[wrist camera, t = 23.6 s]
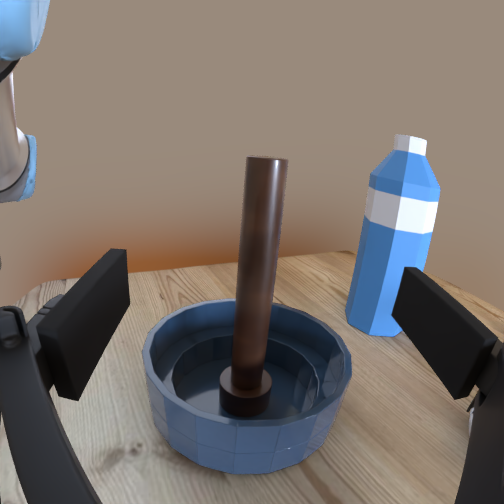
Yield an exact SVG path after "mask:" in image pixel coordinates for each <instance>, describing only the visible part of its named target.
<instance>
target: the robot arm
mask: <svg viewBox="0 0 504 504" xmlns="http://www.w3.org/2000/svg"><path fill="white" fill-rule="evenodd" d="M49 3H50V0H0V203H4V202H11V201H20V200H23V199H27V198H30V197H31V196H32V194H33V193H34V188H35V176H36V139H35V137H34V136H32V135H24V134H23V133H22V132H21V131H20V130H19V129H18V128H17V126H16V116H15V105H14V91H13V71H14V69H15V68H16V67H17V65H18V64H19V62H20V61H21V59H22V57H23V56H27V55H29V54H30V53H32V52H33V51H35V50H36V48H37V47H38V45H39V43H40V40H41V37H42V34H43V31H44V27H45V22H46V17H47V13H48V8H49ZM129 305H130V296H129V284H128V270H127V254H126V250H125V249H110V250H109V251H108V252H107V253H106V254H105V255H104V256H103V257H102V258H101V259H100V260H98V261H97V263H95V264H94V265H93V266H92V267H91V269H89V270H88V271H87V272H86V273H85V274H84V275H83V276H82V277H81V278H80V279H79V280H78V281H77V282H76V284H75V285H74V286H73V287H72V288H71V289H70V290H69V291H68V292H67V293H66V294H65V295H62V294H59V295H58V296H56V297H54V298H52V299H50V300H49V301H48V302H47V303H46V304H45V305H44V306H43V308H41V309H40V310H39V311H38V312H37V314H35V315H34V316H33V318H32V319H31V320H30V321H29V322H28V323H27V324H26V322H25V319H24V315H23V312H22V310H21V309H20V308H18V307H16V306H4V307H0V423H1V412H2V417H3V422H4V427H5V431H6V435H7V439H8V443H9V447H10V451H11V455H12V458H13V462H14V465H15V468H16V472H17V475H18V478H19V481H20V484H21V487H22V489H23V492H24V495H25V498H26V500H27V503H28V504H102V502H101V500H100V499H99V497H98V495H97V494H96V492H95V490H94V488H93V487H92V485H91V483H90V481H89V479H88V478H87V476H86V474H85V472H84V470H83V468H82V466H81V464H80V462H79V460H78V458H77V456H76V454H75V452H74V450H73V448H72V446H71V444H70V442H69V439H68V437H67V435H66V433H65V430H64V428H63V426H62V423H61V421H60V419H59V416H58V414H57V411H56V409H55V406H54V403H53V401H52V398H51V396H50V393H49V391H50V389H51V387H52V386H53V384H54V386H55V388H56V391H57V393H58V396H59V397H63V398H67V399H71V400H75V401H79V399H80V397H81V395H82V393H83V391H84V389H85V387H86V385H87V383H88V381H89V379H90V377H91V375H92V373H93V371H94V369H95V367H96V365H97V363H98V361H99V360H100V358H101V356H102V354H103V352H104V350H105V348H106V346H107V345H108V343H109V341H110V339H111V337H112V335H113V334H114V332H115V330H116V328H117V326H118V325H119V323H120V321H121V319H122V318H123V316H124V314H125V312H126V311H127V309H128V307H129ZM391 316H392V317H393V318H394V320H395V321H396V322H397V323H398V325H399V326H400V327H401V329H402V330H403V331H404V332H405V334H406V335H407V336H408V338H409V339H410V340H411V341H412V343H413V344H414V345H415V347H416V348H417V349H418V351H419V352H420V353H421V354H422V356H423V357H424V358H425V360H426V361H427V362H428V364H429V365H430V366H431V368H432V369H433V371H434V372H435V373H436V375H437V376H438V377H439V379H440V380H441V381H442V383H443V384H444V386H445V387H446V388H447V390H448V391H449V393H450V394H451V395H452V397H453V398H454V400H456V399H460V398H464V397H468V396H469V394H470V392H471V391H472V389H473V387H474V385H475V384H476V386H477V387H478V388H479V391H478V392H477V394H476V396H475V397H474V399H473V401H472V402H471V404H470V406H469V407H468V409H467V411H466V412H469V411H470V409H471V408H473V407H474V410H473V412H472V414H473V419H472V426H471V432H470V438H469V444H468V450H467V455H466V460H465V464H464V469H463V473H462V477H461V481H460V485H459V489H458V493H457V496H456V500H455V503H454V504H504V342H503V343H502V342H501V341H500V340H499V339H498V337H497V336H496V335H495V334H494V333H493V332H491V331H490V330H489V329H488V328H487V327H486V326H485V325H484V324H483V323H482V322H481V321H479V320H478V319H477V318H476V317H475V316H474V315H473V314H472V313H470V312H469V311H468V310H467V309H466V308H465V307H464V306H463V305H461V304H460V303H459V302H458V301H457V300H456V299H454V298H453V297H452V296H451V295H450V294H449V293H447V292H446V291H445V290H444V289H443V288H441V287H440V286H439V285H438V284H437V283H435V282H434V281H433V280H432V279H431V278H429V277H428V276H427V275H426V274H424V273H423V272H422V271H421V270H419V269H418V268H417V267H404V270H403V274H402V278H401V282H400V286H399V289H398V293H397V297H396V300H395V303H394V307H393V310H392V314H391ZM0 504H1V498H0Z"/></svg>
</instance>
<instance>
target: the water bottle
mask: <svg viewBox="0 0 504 504" xmlns="http://www.w3.org/2000/svg"><path fill="white" fill-rule="evenodd" d="M426 142H427V141H426V140H423V139H420V138H416V137H412V136H406V135H395V140H394V149H393V151H392V152H391V153H390V154H389V155H388V156H387V157H386V158H385V159H384V160H383V161H382V162H381V163H380V164H379V165H378V166H377V167H376V169H375V170H373V172H372V173H371V174H370V181H369V188H368V195H367V201H366V209H365V214H364V221H363V226H362V232H361V237H360V243H359V248H358V253H357V258H356V263H355V268H354V273H353V278H352V282H351V287H350V291H349V296H348V300H347V304H346V309H345V312H346V316H347V321H348V323H349V324H350V325H352V326H354V327H356V328H358V329H359V330H361V331H363V332H365V333H366V334H368V335H376V336H389V337H394V336H396V335H397V334H398V333H400V332H401V331H402V329H401V327H400V326H399V325H398V323H397V322H396V321H395V320H394V318H393V317H392V316H391V314H392V310H393V307H394V303H395V300H396V297H397V293H398V289H399V286H400V282H401V278H402V274H403V270H404V267H417V268H418V269H419V270H421V271H422V272H423V269H424V265H425V261H426V256H427V253H428V249H429V244H430V240H431V235H432V231H433V226H434V221H435V216H436V211H437V206H438V200H439V194H440V187H439V185H438V182H437V180H436V178H435V176H434V174H433V172H432V169H431V167H430V165H429V163H428V161H427V159H426V157H425V152H426Z"/></svg>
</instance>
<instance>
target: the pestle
mask: <svg viewBox="0 0 504 504" xmlns="http://www.w3.org/2000/svg"><path fill="white" fill-rule="evenodd" d="M287 167H288V159H284V158H277V157H268V156H254V155H248V156H247V157H246V171H245V181H244V194H243V207H242V219H241V234H240V245H239V260H238V273H237V287H236V301H235V316H234V330H233V346H232V361H231V366H229V367H228V368H226V369H225V370H224V371H223V372H222V373H221V375H220V380H219V402H220V405H221V406H222V408H223V409H224V410H225V411H227V412H228V413H230V414H232V415H235V416H239V417H253V416H256V415H259V414H261V413H262V412H263V411H265V410H266V408H267V407H268V405H269V399H270V394H271V388H272V378H271V376H270V374H269V373H268V372H267V371H266V370H264V369H263V368H264V361H265V354H266V346H267V339H268V331H269V324H270V316H271V308H272V301H273V293H274V284H275V276H276V268H277V260H278V250H279V242H280V234H281V225H282V216H283V206H284V197H285V188H286V178H287Z"/></svg>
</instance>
